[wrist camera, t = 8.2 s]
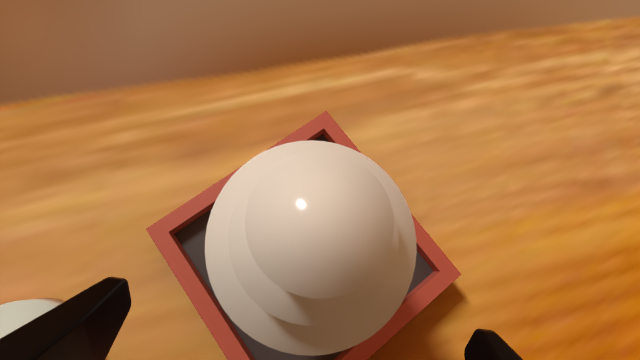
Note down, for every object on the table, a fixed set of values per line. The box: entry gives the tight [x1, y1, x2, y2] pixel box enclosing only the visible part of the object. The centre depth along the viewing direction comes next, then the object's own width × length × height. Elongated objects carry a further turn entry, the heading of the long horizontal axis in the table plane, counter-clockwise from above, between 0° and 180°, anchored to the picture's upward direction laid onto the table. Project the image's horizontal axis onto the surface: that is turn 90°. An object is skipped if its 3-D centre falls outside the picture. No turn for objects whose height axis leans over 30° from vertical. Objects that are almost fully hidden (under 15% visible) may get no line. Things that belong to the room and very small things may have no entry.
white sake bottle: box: [205, 140, 417, 356], centre depth 11 cm, size 6×6×12 cm
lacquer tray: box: [146, 111, 461, 360], centre depth 17 cm, size 12×12×2 cm
